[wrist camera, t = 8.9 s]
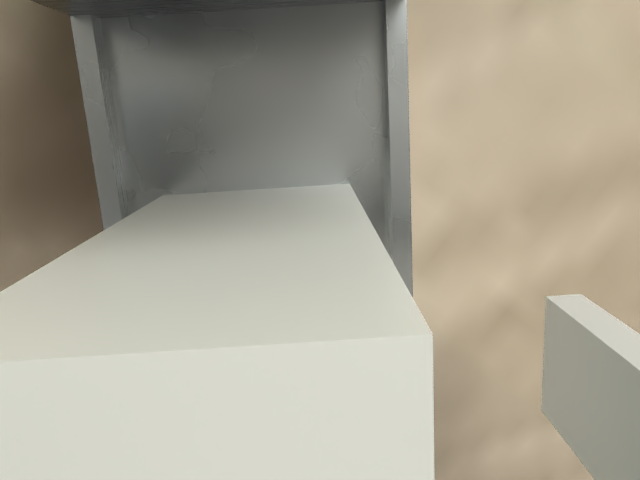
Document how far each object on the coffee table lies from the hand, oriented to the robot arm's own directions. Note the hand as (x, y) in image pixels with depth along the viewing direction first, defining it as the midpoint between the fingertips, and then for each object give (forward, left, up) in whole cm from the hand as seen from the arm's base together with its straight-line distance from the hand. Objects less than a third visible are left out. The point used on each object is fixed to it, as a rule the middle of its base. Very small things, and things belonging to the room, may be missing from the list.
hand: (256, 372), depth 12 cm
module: (0, 0, -4) cm, 4 cm away
